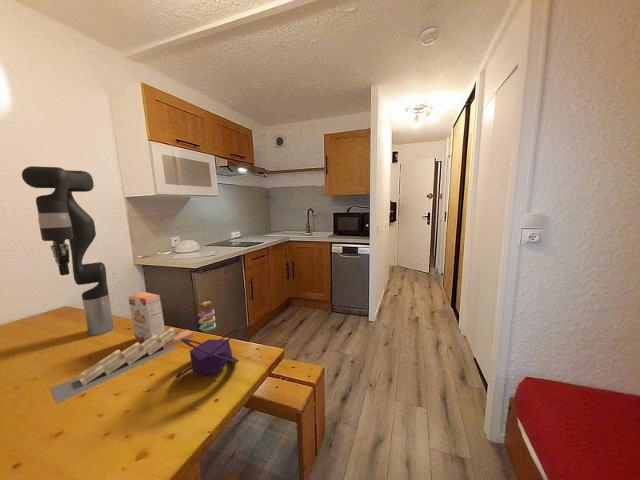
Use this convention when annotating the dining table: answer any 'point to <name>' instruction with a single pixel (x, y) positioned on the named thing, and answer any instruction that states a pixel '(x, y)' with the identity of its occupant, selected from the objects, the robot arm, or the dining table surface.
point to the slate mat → (100, 377)
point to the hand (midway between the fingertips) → (64, 274)
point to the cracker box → (146, 315)
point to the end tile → (178, 339)
